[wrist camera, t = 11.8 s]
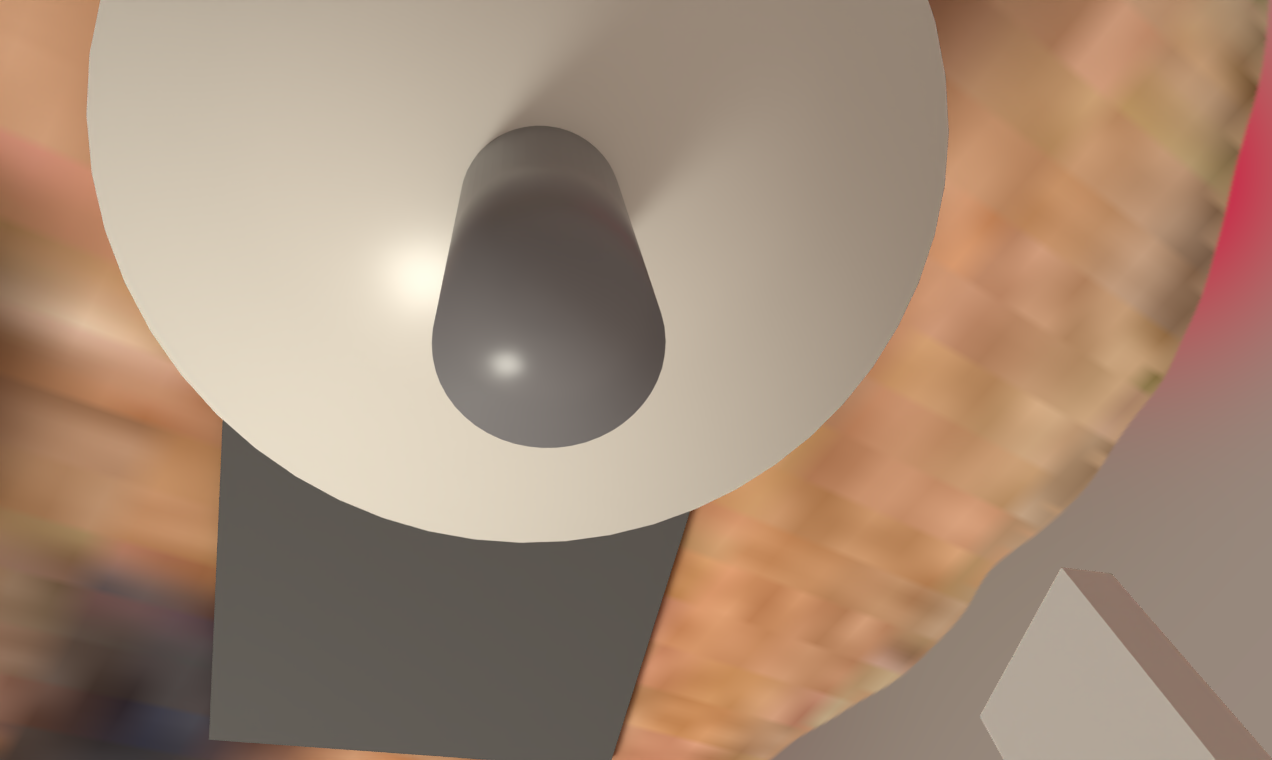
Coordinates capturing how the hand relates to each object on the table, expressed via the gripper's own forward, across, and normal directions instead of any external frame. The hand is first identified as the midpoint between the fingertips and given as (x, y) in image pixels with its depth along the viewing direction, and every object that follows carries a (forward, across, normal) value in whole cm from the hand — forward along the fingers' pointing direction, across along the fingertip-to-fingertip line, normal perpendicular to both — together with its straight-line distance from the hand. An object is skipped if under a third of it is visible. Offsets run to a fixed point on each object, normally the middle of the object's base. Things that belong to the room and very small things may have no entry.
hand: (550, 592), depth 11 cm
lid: (+17, 0, 0) cm, 17 cm away
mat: (+29, 0, -25) cm, 38 cm away
